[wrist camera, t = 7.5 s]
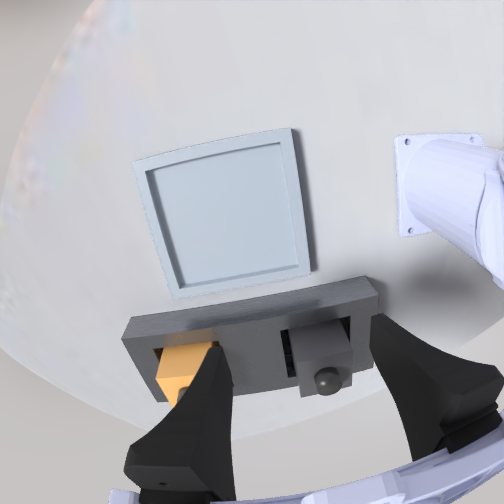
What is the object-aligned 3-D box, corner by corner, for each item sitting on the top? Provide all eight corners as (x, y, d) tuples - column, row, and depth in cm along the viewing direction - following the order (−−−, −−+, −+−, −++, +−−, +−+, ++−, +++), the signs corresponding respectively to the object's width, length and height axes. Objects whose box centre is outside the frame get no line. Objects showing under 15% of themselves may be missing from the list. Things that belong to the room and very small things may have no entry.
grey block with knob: (331, 303, 25) (358, 361, 18) (333, 338, 26) (355, 397, 20) (284, 312, 25) (299, 375, 18) (290, 347, 26) (303, 409, 20)
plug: (213, 322, 25) (207, 386, 18) (224, 355, 26) (223, 419, 20) (169, 328, 25) (152, 390, 18) (183, 361, 27) (173, 422, 20)
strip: (364, 275, 24) (378, 294, 21) (362, 346, 27) (373, 367, 24) (131, 317, 24) (121, 338, 22) (162, 379, 28) (157, 402, 25)
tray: (288, 127, 19) (290, 128, 18) (308, 268, 23) (310, 274, 22) (135, 160, 19) (131, 162, 18) (175, 292, 24) (172, 299, 23)
